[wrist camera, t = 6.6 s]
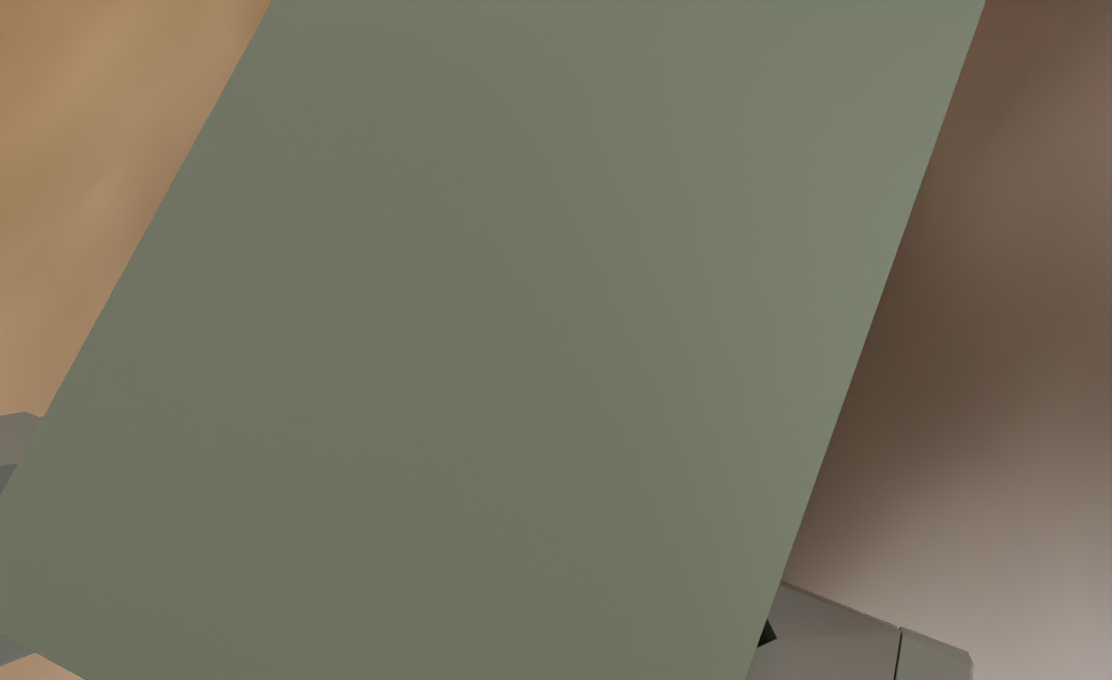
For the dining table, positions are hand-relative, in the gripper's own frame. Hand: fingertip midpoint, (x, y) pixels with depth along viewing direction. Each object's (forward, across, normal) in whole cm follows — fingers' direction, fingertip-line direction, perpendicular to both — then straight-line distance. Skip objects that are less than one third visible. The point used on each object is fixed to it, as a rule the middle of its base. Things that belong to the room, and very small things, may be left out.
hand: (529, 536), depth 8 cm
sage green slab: (+7, 0, +2) cm, 7 cm away
